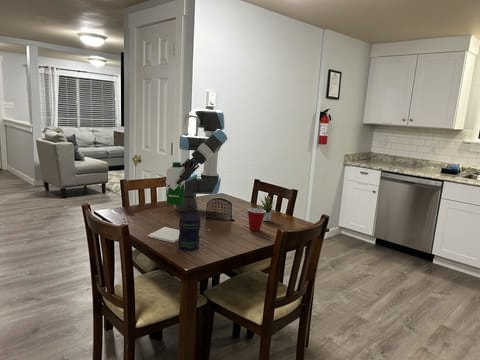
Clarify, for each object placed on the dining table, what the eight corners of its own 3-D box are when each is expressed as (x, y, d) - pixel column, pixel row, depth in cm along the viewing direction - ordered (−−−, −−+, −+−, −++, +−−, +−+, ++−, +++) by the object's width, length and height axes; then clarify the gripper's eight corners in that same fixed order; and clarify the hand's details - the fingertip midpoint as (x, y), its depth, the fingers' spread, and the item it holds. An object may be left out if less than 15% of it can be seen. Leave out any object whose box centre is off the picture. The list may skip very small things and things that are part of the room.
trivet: (164, 228, 188) (164, 226, 188) (189, 234, 183) (189, 232, 183) (148, 236, 174) (148, 235, 174) (174, 242, 169) (174, 241, 169)
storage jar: (192, 242, 172) (194, 213, 170) (202, 249, 165) (204, 218, 162) (174, 245, 166) (175, 215, 164) (184, 252, 159) (185, 221, 156)
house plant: (249, 216, 223) (251, 191, 220) (269, 216, 227) (272, 192, 224) (257, 224, 209) (260, 197, 206) (278, 223, 214) (281, 197, 211)
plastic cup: (266, 229, 202) (268, 209, 199) (260, 234, 192) (262, 213, 189) (249, 225, 205) (251, 205, 203) (242, 230, 196) (244, 209, 193)
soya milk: (185, 201, 180) (186, 162, 176) (182, 205, 171) (183, 164, 167) (168, 200, 180) (168, 161, 176) (164, 204, 171) (165, 164, 167)
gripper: (214, 163, 168) (180, 196, 164) (199, 156, 187) (169, 186, 183) (204, 151, 165) (169, 186, 161) (190, 146, 183) (159, 176, 180)
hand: (169, 186), depth 172 cm, fingers closed on soya milk, 8 cm apart
